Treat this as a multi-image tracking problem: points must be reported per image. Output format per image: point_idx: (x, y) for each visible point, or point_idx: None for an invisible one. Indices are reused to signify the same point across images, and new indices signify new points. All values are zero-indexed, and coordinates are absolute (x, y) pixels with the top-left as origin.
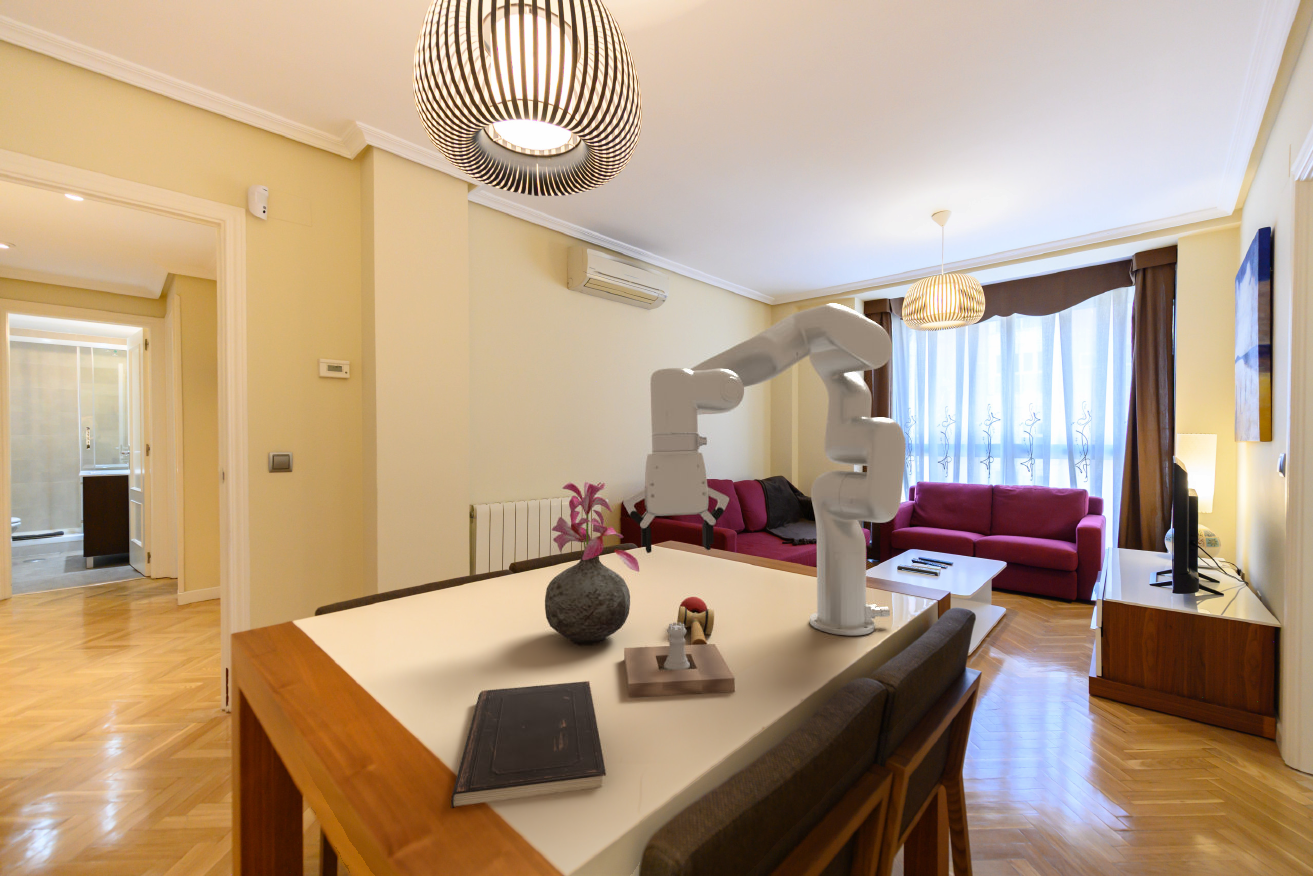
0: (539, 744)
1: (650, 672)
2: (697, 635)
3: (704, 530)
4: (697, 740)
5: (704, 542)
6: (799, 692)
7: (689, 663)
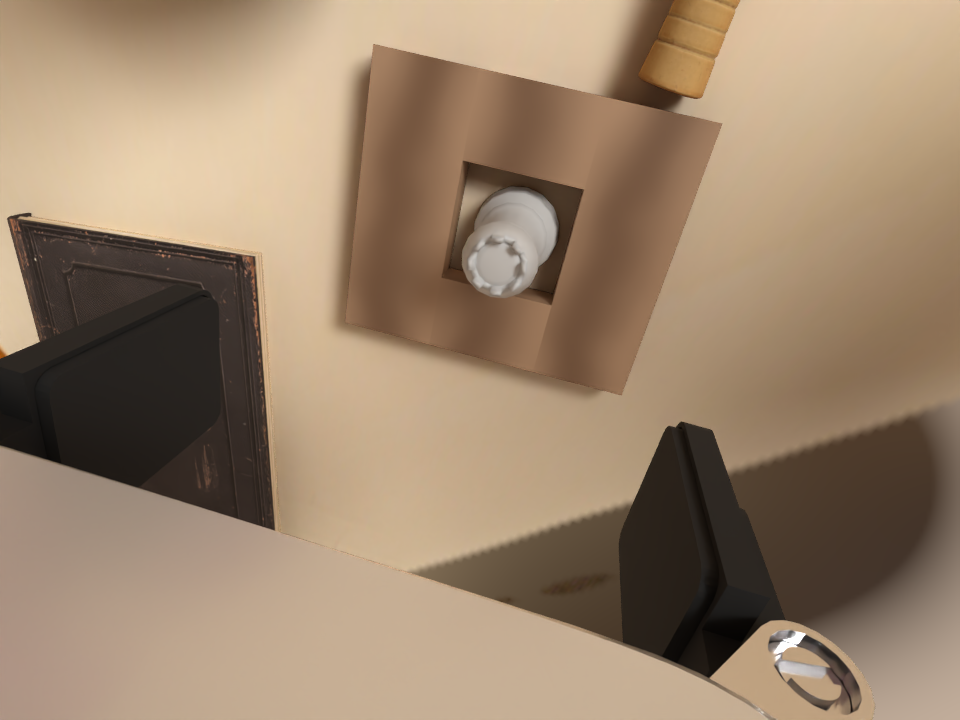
0: (173, 464)
1: (414, 279)
2: (685, 45)
3: (646, 620)
4: (449, 504)
5: (643, 515)
6: (774, 440)
7: (552, 247)
